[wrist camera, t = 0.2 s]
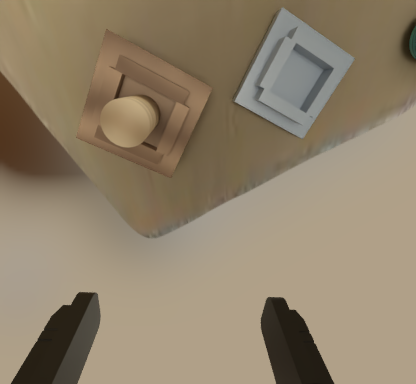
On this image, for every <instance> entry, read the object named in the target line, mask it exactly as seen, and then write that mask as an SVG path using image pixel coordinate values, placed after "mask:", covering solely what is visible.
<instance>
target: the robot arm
mask: <svg viewBox="0 0 416 384" xmlns="http://www.w3.org/2000/svg"><path fill="white" fill-rule="evenodd" d="M99 324H100V308H99V300H98V294H97V293H88V292H79V293H78V294H77V295H76V297H75V299H74V300H73V302H72V304H71V305H63V306H62V307H61V308H60V309H59V310H58V311H57V312H56V313H55V314H53V315H52V316H51V318H50V320H49V321H48V323H47V325H46V326H45V328H44V331H42V333H41V335H40V336H39V338H38V341H37V342H36V343H35V345H34V347H33V348H32V350H31V351H30V353H29V355H28V356H27V358H26V360H25V361H24V363H23V365H22V366H21V368H20V370H19V371H18V373H17V375H16V376H15V378H14V379H13V381H12V383H11V384H77V383H78V380H79V378H80V375H81V373H82V370H83V367H84V365H85V362H86V360H87V357H88V354H89V352H90V349H91V347H92V344H93V341H94V339H95V336H96V334H97V331H98V328H99ZM261 330H262V334H263V337H264V341H265V345H266V348H267V352H268V355H269V359H270V363H271V366H272V370H273V373H274V376H275V380H276V384H334V382H333V380H332V379H331V376H330V374H329V372H328V370H327V368H326V366H325V364H324V361H323V359H322V357H321V355H320V353H319V351H318V349H317V346H316V344H314V340H313V338H312V336H311V334H310V333H309V330H308V327H307V325H306V323H305V321H304V319H303V318H302V317H301V316H300V315H299V314H298V313H297V312H296V310H289V307H288V305H287V303H286V301H285V299H284V298H281V297H268V298H267V300H266V303H265V306H264V310H263V314H262V317H261Z"/></svg>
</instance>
